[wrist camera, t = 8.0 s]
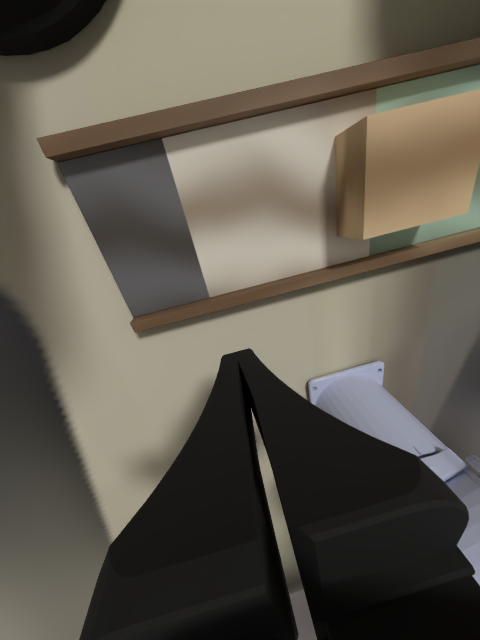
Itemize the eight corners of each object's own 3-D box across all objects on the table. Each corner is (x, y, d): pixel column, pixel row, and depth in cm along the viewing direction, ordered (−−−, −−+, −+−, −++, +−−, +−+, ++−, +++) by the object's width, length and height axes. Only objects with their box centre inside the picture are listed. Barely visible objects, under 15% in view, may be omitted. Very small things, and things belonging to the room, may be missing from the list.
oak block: (424, 214, 16) (468, 212, 14) (336, 236, 16) (363, 239, 13) (439, 111, 14) (496, 84, 11) (334, 136, 13) (367, 115, 11)
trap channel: (533, 221, 18) (554, 221, 17) (139, 325, 17) (134, 332, 16) (605, 18, 13) (640, 0, 12) (51, 145, 12) (36, 138, 11)
